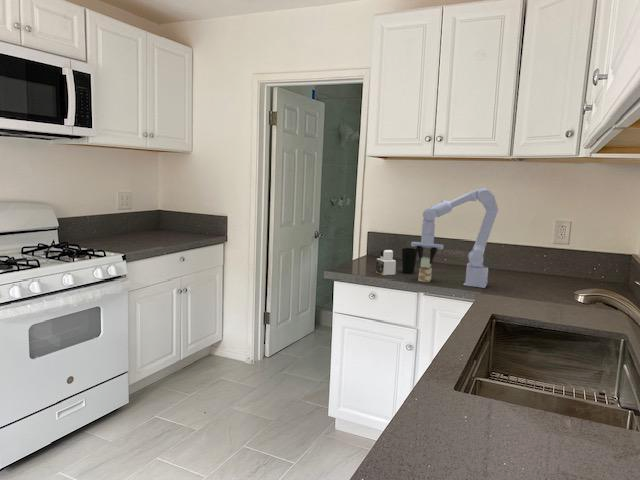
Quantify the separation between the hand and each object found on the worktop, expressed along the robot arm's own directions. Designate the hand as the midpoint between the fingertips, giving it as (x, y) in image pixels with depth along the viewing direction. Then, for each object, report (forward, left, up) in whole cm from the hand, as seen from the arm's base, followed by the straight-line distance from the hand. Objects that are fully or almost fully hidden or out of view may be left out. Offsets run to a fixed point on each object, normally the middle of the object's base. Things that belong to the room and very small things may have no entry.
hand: (425, 262), depth 222 cm
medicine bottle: (+21, -4, -9) cm, 23 cm away
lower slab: (0, 0, -9) cm, 9 cm away
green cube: (0, 0, -2) cm, 2 cm away
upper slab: (0, 0, -6) cm, 6 cm away
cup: (+12, -13, -9) cm, 19 cm away
